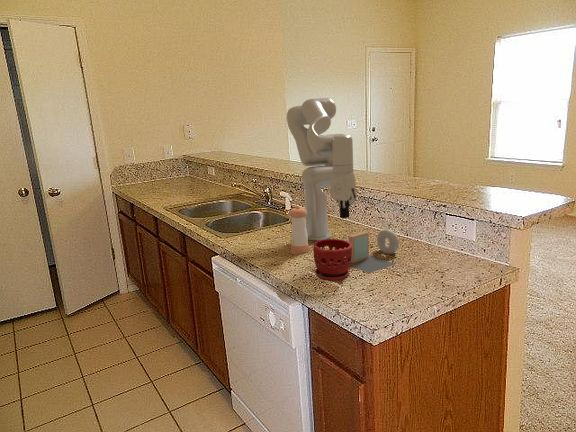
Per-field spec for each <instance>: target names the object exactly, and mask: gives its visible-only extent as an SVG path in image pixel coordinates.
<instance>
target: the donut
mask: <svg viewBox="0 0 576 432" xmlns="http://www.w3.org/2000/svg"><path fill="white" fill-rule="evenodd" d="M386 239H388V242H389V244H388V243H387V241H386ZM376 243H377V246H378V248H379V250H380V251H381V252H382V253H384V254H387V255H393V254H395V253H397V251H398V249H399V246H400V242H399V238H398V236H397V234H396V233H395V232H394V231H393V230H391V229H389V228H386V229H385V228H384V229H382V230H380V231H379V232H378V234H377V237H376Z"/></svg>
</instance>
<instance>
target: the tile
mask: <svg viewBox="0 0 576 432" xmlns="http://www.w3.org/2000/svg"><path fill="white" fill-rule="evenodd" d="M369 233H370V232H368V231H362V232H361V231H360V232H358V233H353V234H349V235H348V242H349V243H351V244H352V258H351V263H355V262H358V261H361V260H364V259H367V258H369V255H370V254H369V253H370V251H369V250H370V248H369V247H370V243H369V242H370V241H369V240H370V239H369V237H370V236H369Z"/></svg>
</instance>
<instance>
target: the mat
mask: <svg viewBox="0 0 576 432" xmlns="http://www.w3.org/2000/svg"><path fill="white" fill-rule="evenodd" d="M395 265H396V263H393V262H391V261H387V260H385V259H382V258H379V257H375V256H373V255H370V254H369V258H367V259H364V260H361V261H358V262H355V263H350V266H349V267H352V268H354V269H358V270H360V271H362V272H365V273H367V274H370V273H373V272H377V271H380V270H382V269H383V270H384V269H386V268H389V267H392V266H395Z"/></svg>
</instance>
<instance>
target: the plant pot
mask: <svg viewBox="0 0 576 432" xmlns="http://www.w3.org/2000/svg"><path fill="white" fill-rule="evenodd" d="M325 247H328V249H326V248H325ZM312 248H313V260H314V264H315V266H316V267H315V268H316V269H315V271H314V272H315V273H314V274H315V275H316V277H317V278H318V279H320V280H321V281H325V282H336V281H341V280H344V279H346V278H348V277H349V275H350V270H349V268H350V267H351V266H350V263H351V258H352V244H351V243H349V241H348V240H344V239H336V238H335V239H334V238H329V239H325V240H316V241H315V242H314V243H313V247H312Z"/></svg>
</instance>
